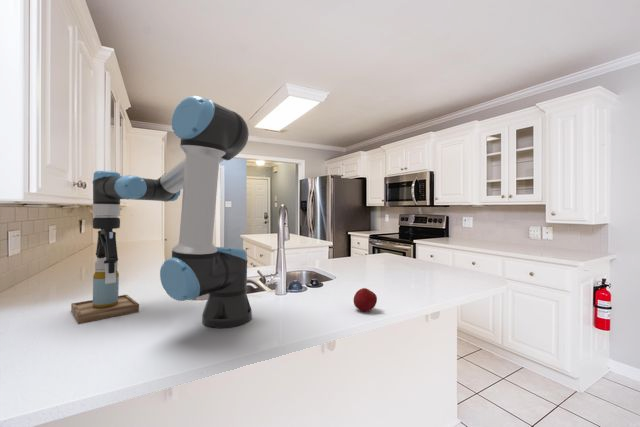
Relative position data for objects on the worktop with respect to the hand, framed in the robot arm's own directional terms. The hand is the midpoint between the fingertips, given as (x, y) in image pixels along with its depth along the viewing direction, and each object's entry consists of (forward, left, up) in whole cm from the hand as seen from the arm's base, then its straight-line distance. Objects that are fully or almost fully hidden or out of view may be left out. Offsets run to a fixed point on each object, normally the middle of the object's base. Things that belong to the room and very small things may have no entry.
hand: (106, 279), depth 99 cm
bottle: (0, 0, -9) cm, 9 cm away
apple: (-61, -65, -11) cm, 90 cm away
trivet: (0, 0, -11) cm, 11 cm away
